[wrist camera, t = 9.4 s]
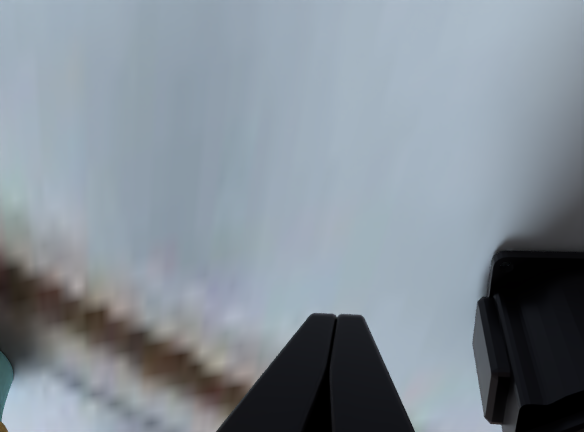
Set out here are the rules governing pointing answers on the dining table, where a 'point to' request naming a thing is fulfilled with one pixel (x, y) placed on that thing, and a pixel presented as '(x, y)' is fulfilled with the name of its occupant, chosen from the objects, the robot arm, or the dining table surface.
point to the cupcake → (4, 385)
